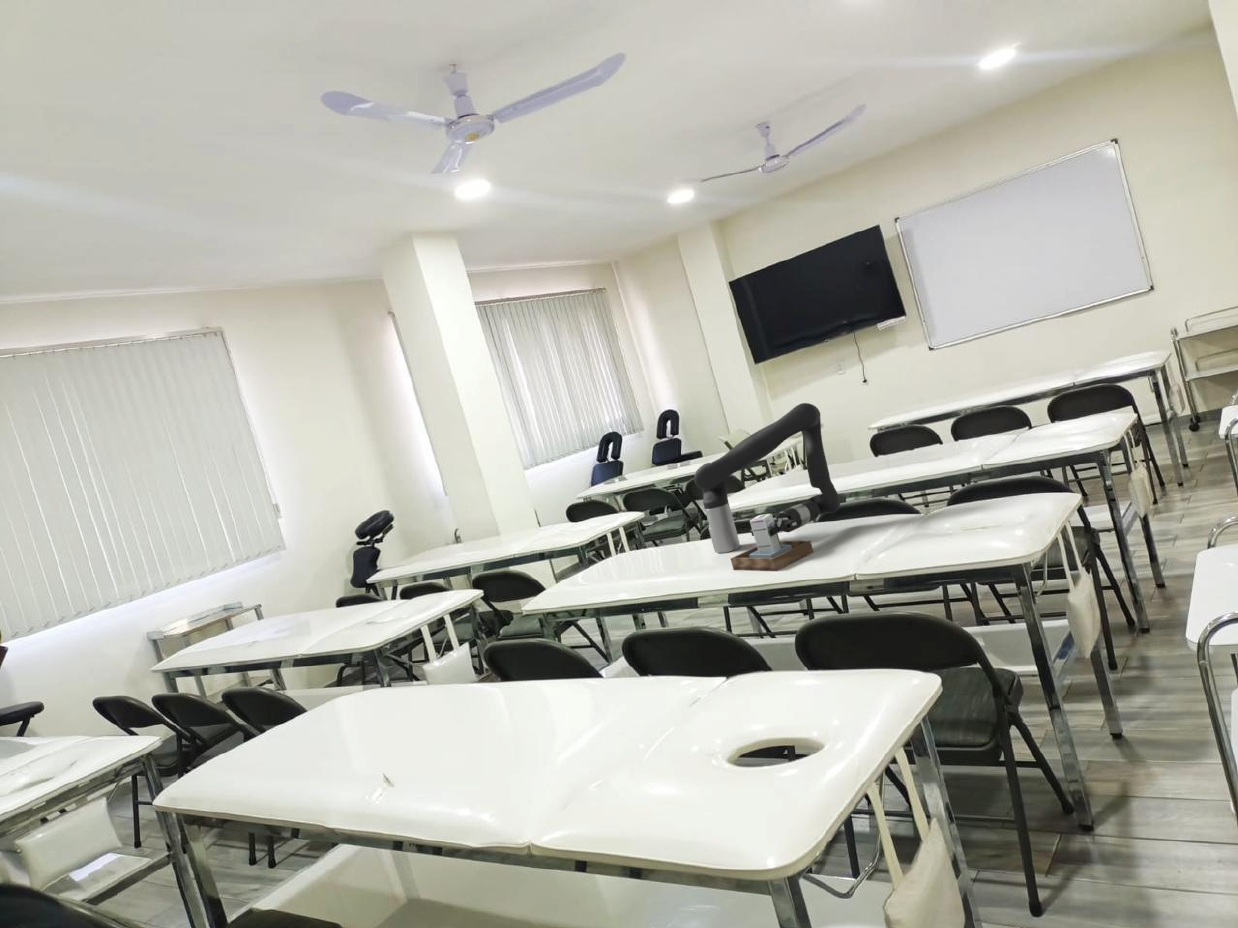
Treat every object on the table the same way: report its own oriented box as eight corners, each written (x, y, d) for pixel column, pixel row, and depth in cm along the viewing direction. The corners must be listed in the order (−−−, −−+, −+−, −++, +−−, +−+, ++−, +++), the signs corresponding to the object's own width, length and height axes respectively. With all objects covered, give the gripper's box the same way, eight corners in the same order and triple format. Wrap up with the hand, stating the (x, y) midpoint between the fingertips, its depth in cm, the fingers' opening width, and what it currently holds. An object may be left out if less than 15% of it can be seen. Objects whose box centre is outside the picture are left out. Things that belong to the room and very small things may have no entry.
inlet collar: (751, 563, 271) (749, 554, 271) (771, 553, 277) (769, 544, 277) (772, 563, 263) (770, 554, 263) (793, 553, 269) (791, 544, 268)
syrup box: (776, 560, 266) (764, 517, 265) (760, 561, 270) (749, 519, 269) (783, 554, 271) (772, 512, 270) (768, 556, 274) (757, 514, 273)
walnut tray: (733, 569, 273) (730, 558, 273) (770, 552, 283) (767, 541, 283) (776, 571, 257) (772, 558, 257) (813, 552, 267) (810, 540, 267)
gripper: (776, 508, 283) (742, 522, 274) (806, 506, 271) (773, 521, 262) (781, 528, 283) (748, 544, 274) (812, 527, 272) (779, 543, 263)
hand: (760, 533), depth 268 cm, fingers open, 8 cm apart
